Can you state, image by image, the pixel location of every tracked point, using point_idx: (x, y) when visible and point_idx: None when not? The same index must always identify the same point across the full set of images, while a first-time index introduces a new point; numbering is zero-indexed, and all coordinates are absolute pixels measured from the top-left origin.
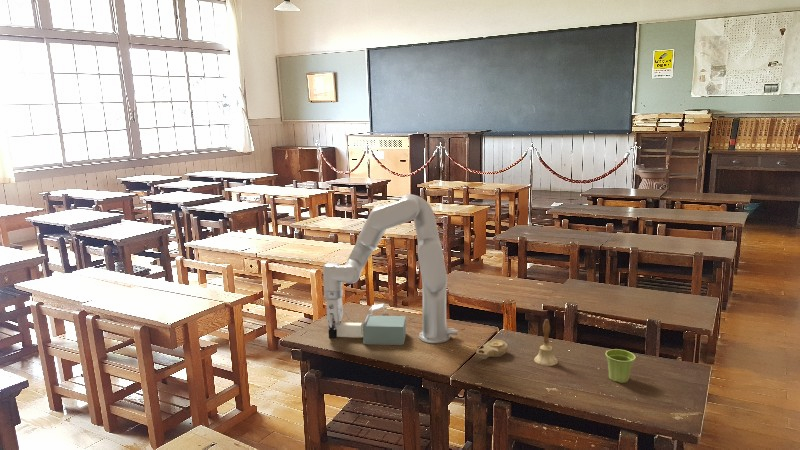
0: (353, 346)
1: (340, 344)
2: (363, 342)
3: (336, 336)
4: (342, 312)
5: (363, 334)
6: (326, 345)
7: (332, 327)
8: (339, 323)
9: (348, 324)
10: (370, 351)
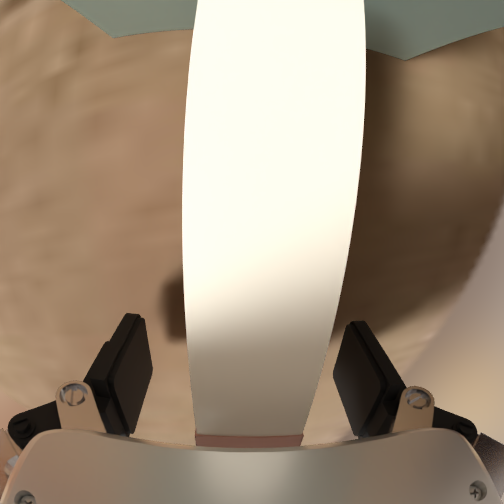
0: (444, 148)
1: (397, 262)
2: (413, 55)
3: (370, 331)
4: (71, 502)
5: (462, 33)
6: (389, 354)
7: (464, 423)
8: (239, 403)
9: (298, 257)
10: (495, 46)
